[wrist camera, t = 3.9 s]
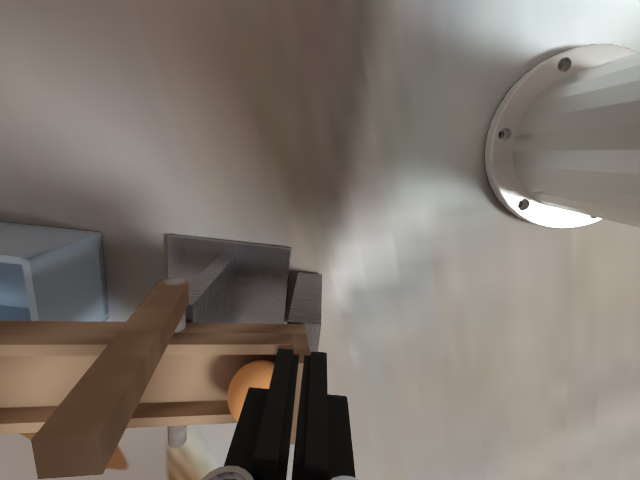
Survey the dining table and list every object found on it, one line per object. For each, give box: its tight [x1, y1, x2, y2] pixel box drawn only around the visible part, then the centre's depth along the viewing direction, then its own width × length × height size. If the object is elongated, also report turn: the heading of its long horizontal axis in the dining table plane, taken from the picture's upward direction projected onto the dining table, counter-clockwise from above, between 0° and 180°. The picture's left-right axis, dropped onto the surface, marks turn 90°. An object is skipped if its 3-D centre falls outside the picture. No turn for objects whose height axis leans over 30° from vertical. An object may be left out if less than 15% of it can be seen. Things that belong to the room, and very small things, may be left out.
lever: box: [0, 277, 310, 479], centre depth 13 cm, size 17×10×10 cm, turn 85°
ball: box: [227, 360, 275, 422], centre depth 16 cm, size 3×3×3 cm
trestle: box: [167, 234, 322, 354], centre depth 22 cm, size 13×9×9 cm
